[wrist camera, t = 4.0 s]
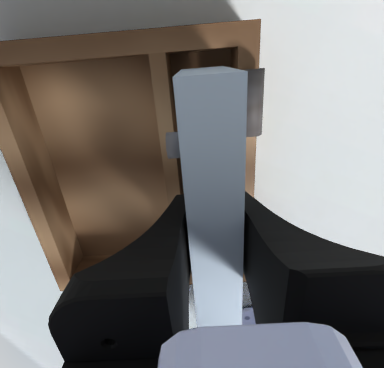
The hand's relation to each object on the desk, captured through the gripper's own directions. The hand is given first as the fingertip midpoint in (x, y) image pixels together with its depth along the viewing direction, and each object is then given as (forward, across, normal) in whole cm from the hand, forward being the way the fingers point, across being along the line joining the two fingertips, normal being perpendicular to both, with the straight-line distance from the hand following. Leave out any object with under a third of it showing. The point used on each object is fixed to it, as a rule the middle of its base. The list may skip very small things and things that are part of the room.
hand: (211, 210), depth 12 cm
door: (+3, 0, 0) cm, 3 cm away
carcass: (+6, +4, 0) cm, 8 cm away
